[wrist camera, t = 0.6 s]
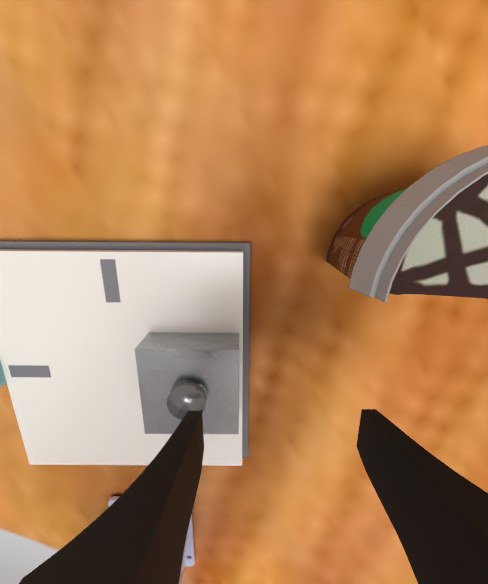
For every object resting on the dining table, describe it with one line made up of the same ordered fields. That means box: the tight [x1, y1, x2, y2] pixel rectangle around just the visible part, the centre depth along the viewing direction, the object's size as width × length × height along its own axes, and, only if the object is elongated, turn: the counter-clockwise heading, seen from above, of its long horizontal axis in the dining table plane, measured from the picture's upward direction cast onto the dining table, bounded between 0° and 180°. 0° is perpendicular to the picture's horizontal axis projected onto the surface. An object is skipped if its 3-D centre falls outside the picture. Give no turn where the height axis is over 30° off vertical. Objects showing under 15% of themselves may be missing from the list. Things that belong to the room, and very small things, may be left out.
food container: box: [327, 146, 488, 302], centre depth 14 cm, size 12×6×10 cm, turn 87°
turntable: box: [0, 249, 243, 466], centre depth 19 cm, size 18×21×4 cm
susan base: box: [0, 241, 250, 458], centre depth 21 cm, size 19×19×1 cm
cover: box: [135, 332, 239, 434], centre depth 18 cm, size 6×6×4 cm
